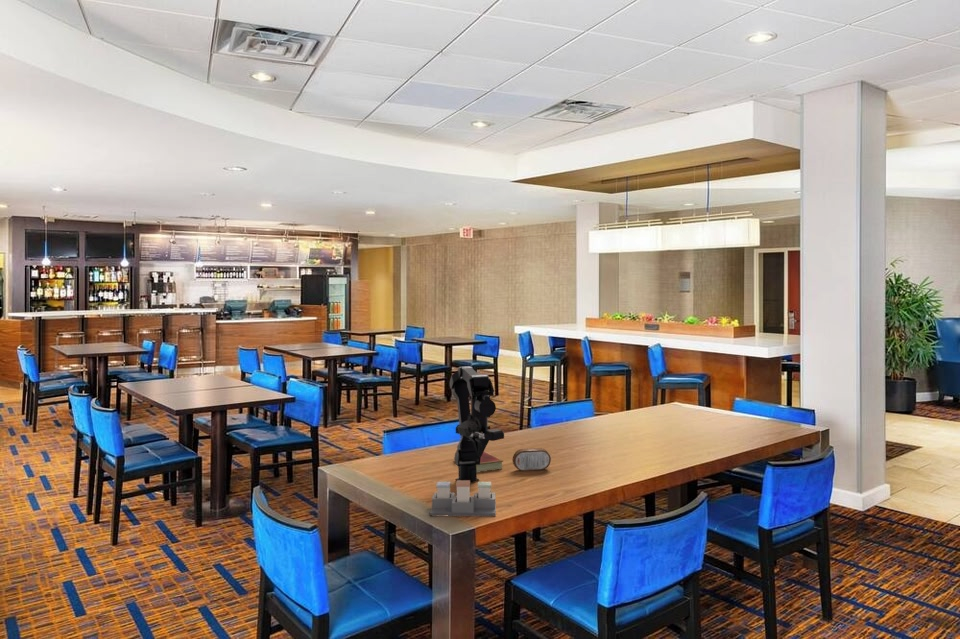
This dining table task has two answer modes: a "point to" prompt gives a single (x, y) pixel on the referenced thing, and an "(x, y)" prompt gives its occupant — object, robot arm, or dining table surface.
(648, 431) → the dining table surface
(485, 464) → the hardcover book
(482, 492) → the key
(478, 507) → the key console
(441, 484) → the grey upright block
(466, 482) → the key
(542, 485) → the dining table surface
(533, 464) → the tin
